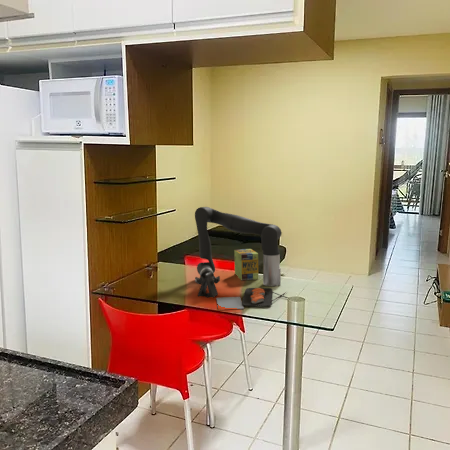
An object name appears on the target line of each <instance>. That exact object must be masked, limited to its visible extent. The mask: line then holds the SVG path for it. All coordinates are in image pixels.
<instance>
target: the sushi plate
mask: <svg viewBox="0 0 450 450" xmlns="http://www.w3.org/2000/svg"><path fill="white" fill-rule="evenodd" d="M285 293H286V292H284V293H283V294H280V293H277V292H274V290H273V289H272V288H268V287H247V288H246V289H245V291H244V293H243V297H242V299H241V301H242V305H243V307H270V306H272V305H273V302H274V301H275V300H277V299H279V298H280V297H282V298H285V299H287V298H289V297H287V296H285V295H286V294H285ZM273 294H276V295H278V296H277V297H276V298H274V299H273ZM284 294H285V295H284ZM282 295H283V296H282Z"/></svg>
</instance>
